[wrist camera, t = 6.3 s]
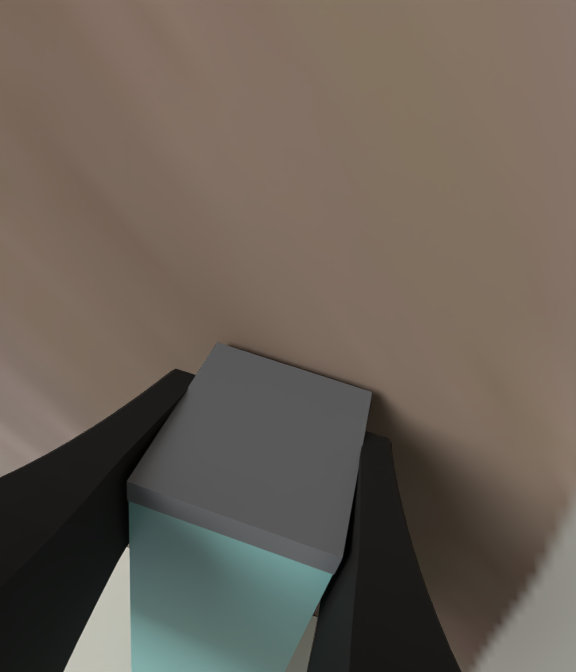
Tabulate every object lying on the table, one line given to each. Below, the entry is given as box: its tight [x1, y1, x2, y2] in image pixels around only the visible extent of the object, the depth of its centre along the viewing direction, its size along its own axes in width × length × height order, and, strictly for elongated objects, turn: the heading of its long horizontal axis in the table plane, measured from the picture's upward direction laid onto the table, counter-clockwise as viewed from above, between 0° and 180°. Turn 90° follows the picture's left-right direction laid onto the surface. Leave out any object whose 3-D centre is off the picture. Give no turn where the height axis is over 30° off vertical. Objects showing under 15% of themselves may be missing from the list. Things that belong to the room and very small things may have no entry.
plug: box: [127, 343, 372, 672], centre depth 14 cm, size 11×4×4 cm, turn 170°
